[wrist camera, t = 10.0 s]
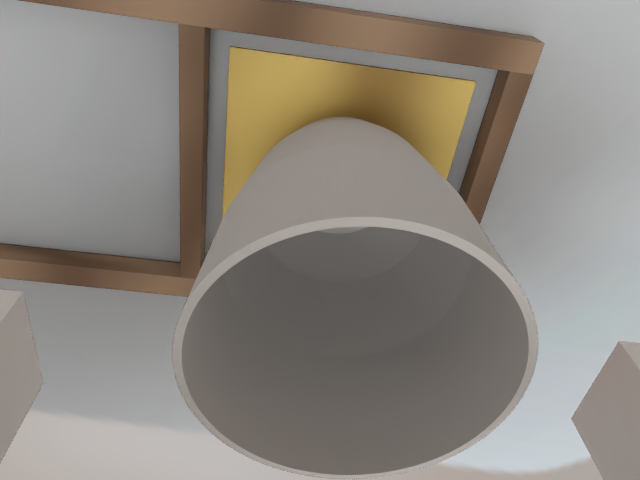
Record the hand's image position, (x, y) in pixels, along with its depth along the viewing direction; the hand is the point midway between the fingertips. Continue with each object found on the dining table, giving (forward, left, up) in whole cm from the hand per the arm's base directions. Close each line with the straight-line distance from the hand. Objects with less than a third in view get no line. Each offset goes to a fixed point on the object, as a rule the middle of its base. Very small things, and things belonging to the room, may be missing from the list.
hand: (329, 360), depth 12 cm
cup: (+1, 0, -10) cm, 10 cm away
